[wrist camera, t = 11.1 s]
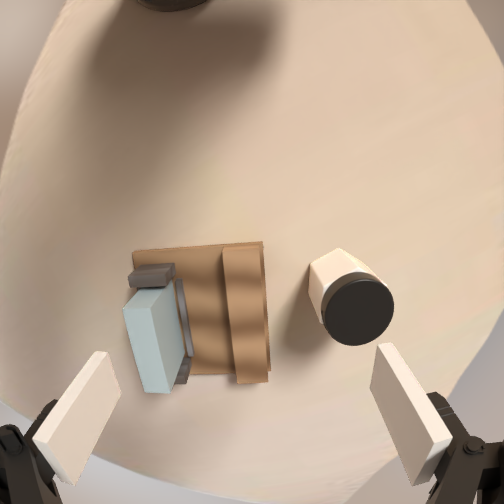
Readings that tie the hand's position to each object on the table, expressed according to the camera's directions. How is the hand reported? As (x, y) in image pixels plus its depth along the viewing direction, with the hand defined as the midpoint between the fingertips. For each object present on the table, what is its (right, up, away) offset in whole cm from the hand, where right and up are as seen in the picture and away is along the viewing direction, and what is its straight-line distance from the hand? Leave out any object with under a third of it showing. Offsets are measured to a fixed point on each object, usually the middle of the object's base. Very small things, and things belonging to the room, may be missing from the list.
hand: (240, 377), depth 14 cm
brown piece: (-6, -3, +32) cm, 33 cm away
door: (-12, -4, +31) cm, 33 cm away
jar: (+12, +2, +30) cm, 33 cm away
